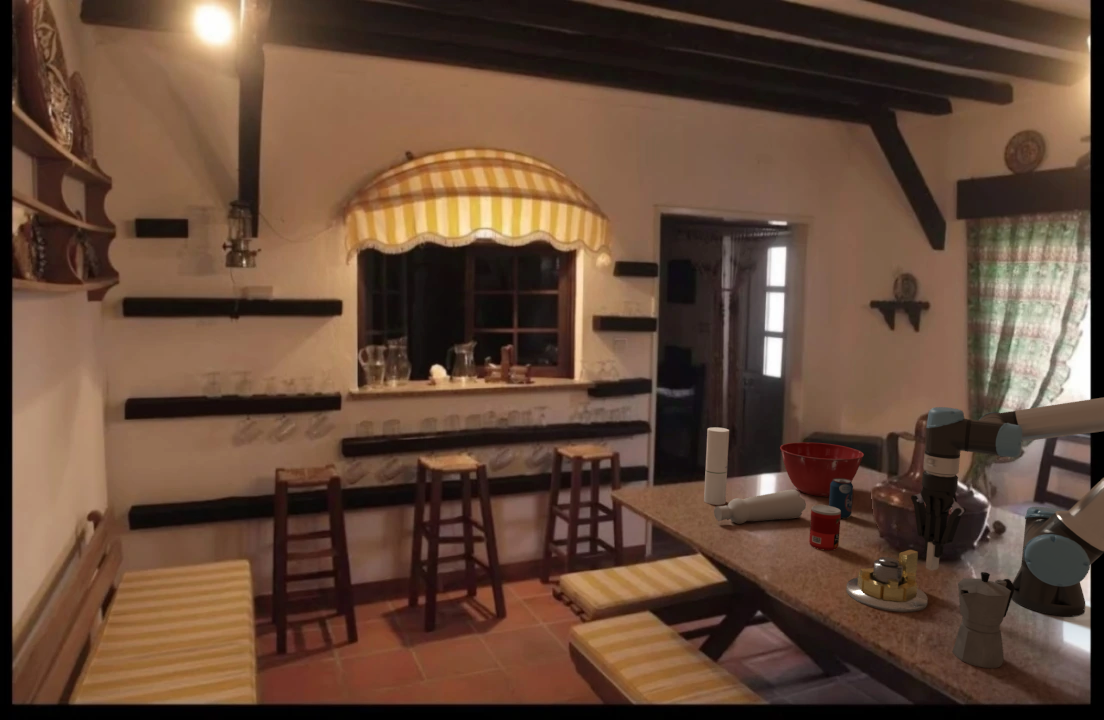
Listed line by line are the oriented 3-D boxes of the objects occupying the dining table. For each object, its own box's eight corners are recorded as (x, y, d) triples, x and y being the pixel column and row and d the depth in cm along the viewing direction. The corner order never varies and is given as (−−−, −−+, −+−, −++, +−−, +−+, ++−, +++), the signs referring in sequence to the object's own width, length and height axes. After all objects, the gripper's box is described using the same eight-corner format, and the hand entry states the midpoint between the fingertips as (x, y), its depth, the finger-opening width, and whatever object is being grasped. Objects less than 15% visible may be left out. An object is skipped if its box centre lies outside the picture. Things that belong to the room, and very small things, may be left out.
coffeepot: (976, 674, 149) (984, 586, 147) (934, 652, 158) (942, 568, 156) (1028, 660, 155) (1037, 575, 153) (986, 639, 164) (993, 558, 162)
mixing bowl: (765, 481, 289) (768, 441, 288) (837, 480, 293) (840, 441, 291) (797, 503, 262) (800, 459, 260) (876, 502, 265) (879, 459, 263)
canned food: (840, 552, 215) (843, 514, 214) (810, 549, 217) (813, 511, 216) (836, 542, 223) (838, 506, 221) (807, 540, 224) (809, 503, 223)
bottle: (786, 501, 252) (706, 511, 242) (796, 482, 247) (716, 492, 236) (800, 523, 246) (719, 534, 236) (811, 504, 240) (729, 515, 230)
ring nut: (935, 589, 187) (938, 558, 186) (895, 605, 177) (898, 572, 176) (888, 572, 197) (891, 543, 196) (848, 586, 187) (850, 555, 186)
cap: (942, 601, 183) (945, 565, 182) (899, 618, 173) (902, 580, 172) (873, 576, 198) (876, 542, 197) (831, 590, 188) (833, 555, 187)
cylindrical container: (728, 501, 262) (732, 429, 259) (721, 506, 256) (724, 432, 253) (708, 497, 266) (712, 426, 263) (700, 502, 260) (704, 429, 257)
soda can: (850, 520, 244) (853, 483, 243) (827, 517, 246) (830, 481, 245) (851, 514, 250) (853, 478, 249) (828, 511, 253) (831, 476, 252)
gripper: (905, 467, 185) (898, 561, 188) (956, 481, 174) (947, 581, 176) (925, 464, 189) (917, 557, 191) (976, 477, 177) (967, 575, 180)
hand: (931, 568), depth 184 cm, fingers closed
